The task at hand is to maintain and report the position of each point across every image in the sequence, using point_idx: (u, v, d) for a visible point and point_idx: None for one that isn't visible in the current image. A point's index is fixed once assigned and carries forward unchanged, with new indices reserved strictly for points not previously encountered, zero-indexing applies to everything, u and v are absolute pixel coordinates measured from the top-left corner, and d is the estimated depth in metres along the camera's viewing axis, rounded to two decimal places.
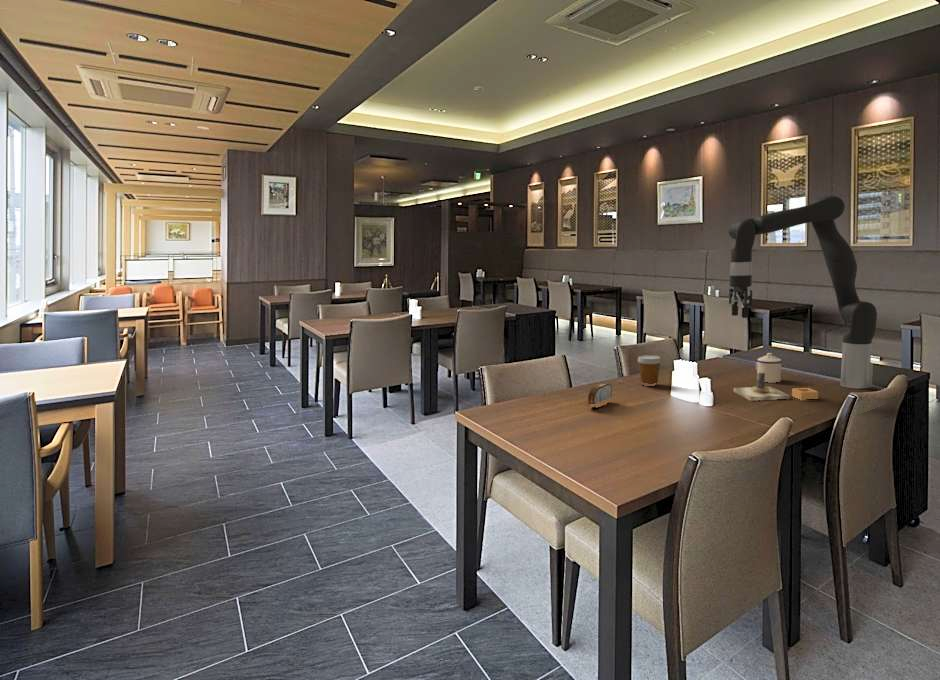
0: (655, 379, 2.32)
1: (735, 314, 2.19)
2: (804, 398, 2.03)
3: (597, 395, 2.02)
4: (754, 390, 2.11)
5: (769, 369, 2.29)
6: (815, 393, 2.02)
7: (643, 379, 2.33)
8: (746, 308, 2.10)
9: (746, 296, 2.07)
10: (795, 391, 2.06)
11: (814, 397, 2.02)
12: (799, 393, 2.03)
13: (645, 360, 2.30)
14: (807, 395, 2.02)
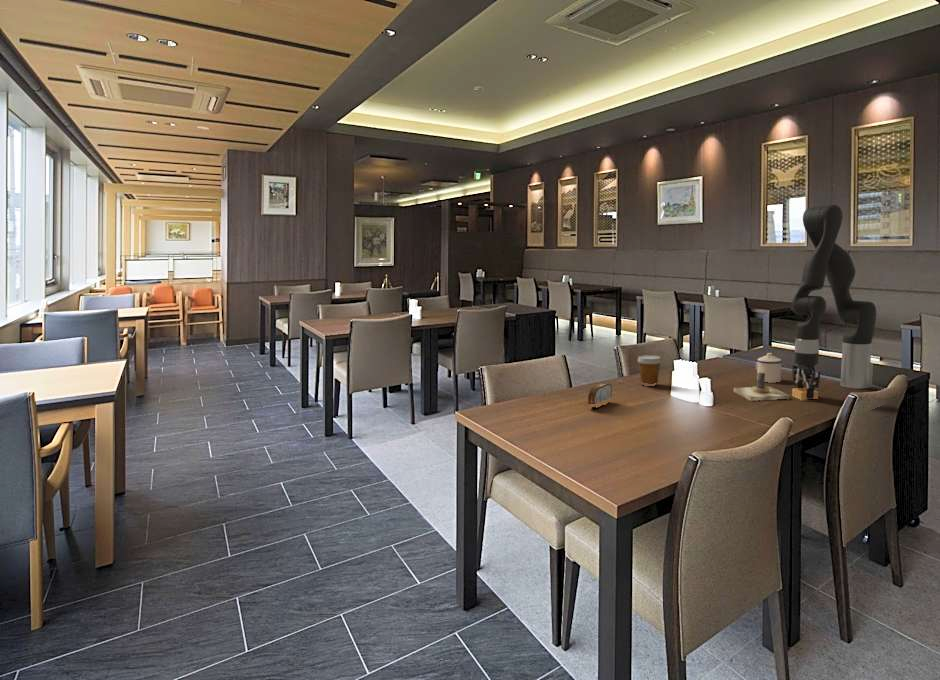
0: (655, 379, 2.32)
1: None
2: (804, 398, 2.03)
3: (597, 395, 2.02)
4: (754, 390, 2.11)
5: (769, 369, 2.29)
6: (815, 393, 2.02)
7: (643, 379, 2.33)
8: (812, 389, 2.01)
9: (813, 378, 1.98)
10: (795, 391, 2.06)
11: (814, 397, 2.02)
12: (799, 393, 2.03)
13: (645, 360, 2.30)
14: None
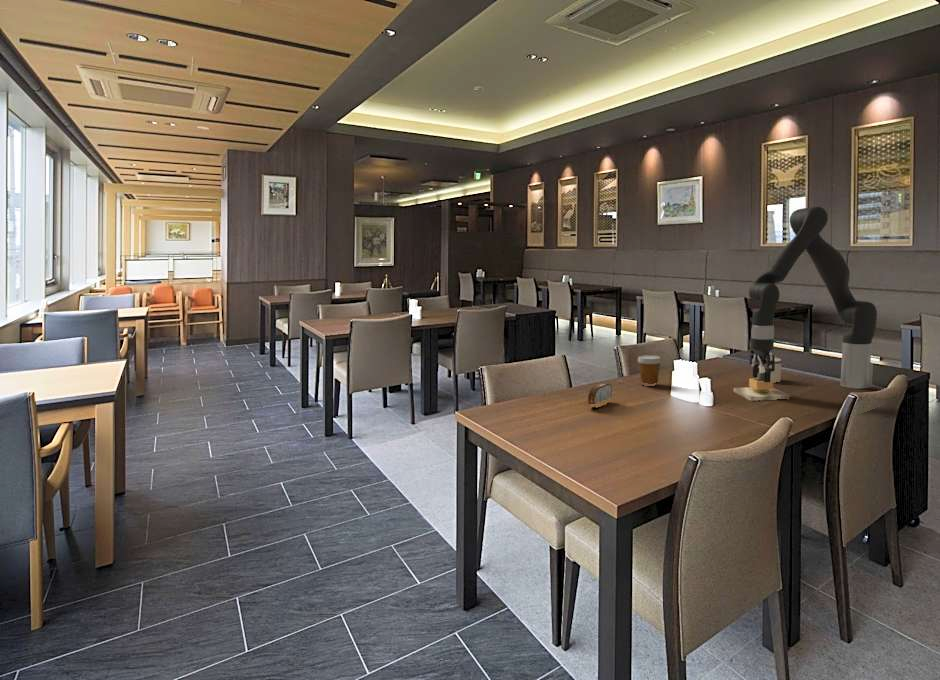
0: (655, 379, 2.32)
1: (756, 376, 2.15)
2: (760, 387, 2.08)
3: (597, 395, 2.02)
4: (754, 390, 2.11)
5: None
6: (770, 383, 2.08)
7: (643, 379, 2.33)
8: (768, 373, 2.05)
9: (768, 361, 2.03)
10: (752, 381, 2.12)
11: (769, 386, 2.08)
12: (755, 383, 2.09)
13: (645, 360, 2.30)
14: (763, 385, 2.08)
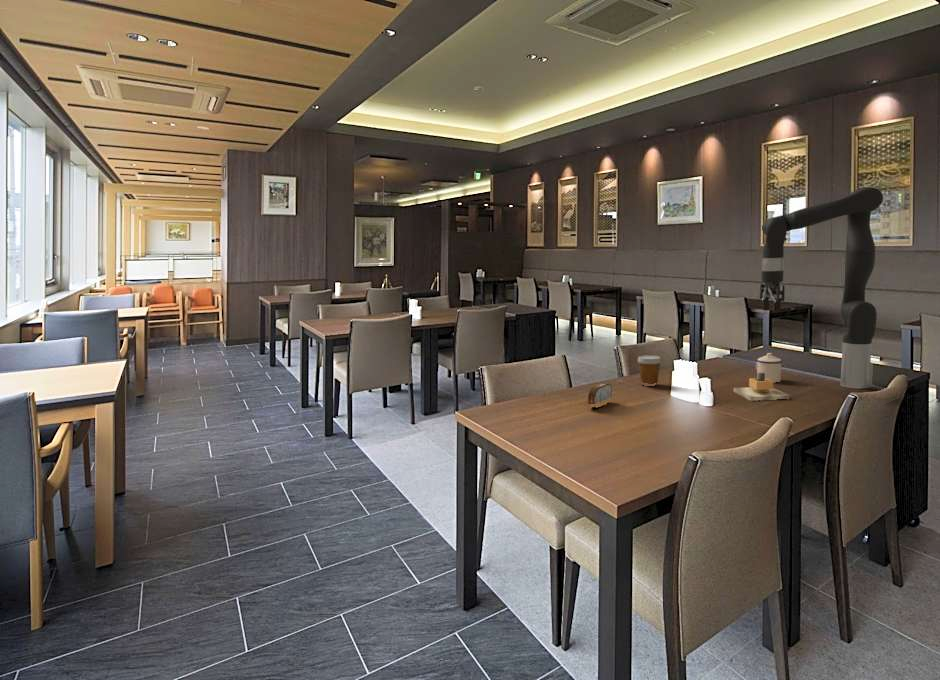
0: (655, 379, 2.32)
1: (766, 309, 2.25)
2: (760, 387, 2.08)
3: (597, 395, 2.02)
4: (754, 390, 2.11)
5: (769, 369, 2.29)
6: (770, 383, 2.08)
7: (643, 379, 2.33)
8: (778, 303, 2.15)
9: (779, 291, 2.13)
10: (752, 381, 2.12)
11: (769, 386, 2.08)
12: (755, 383, 2.09)
13: (645, 360, 2.30)
14: (763, 385, 2.08)
